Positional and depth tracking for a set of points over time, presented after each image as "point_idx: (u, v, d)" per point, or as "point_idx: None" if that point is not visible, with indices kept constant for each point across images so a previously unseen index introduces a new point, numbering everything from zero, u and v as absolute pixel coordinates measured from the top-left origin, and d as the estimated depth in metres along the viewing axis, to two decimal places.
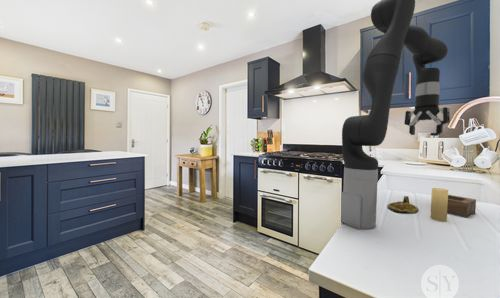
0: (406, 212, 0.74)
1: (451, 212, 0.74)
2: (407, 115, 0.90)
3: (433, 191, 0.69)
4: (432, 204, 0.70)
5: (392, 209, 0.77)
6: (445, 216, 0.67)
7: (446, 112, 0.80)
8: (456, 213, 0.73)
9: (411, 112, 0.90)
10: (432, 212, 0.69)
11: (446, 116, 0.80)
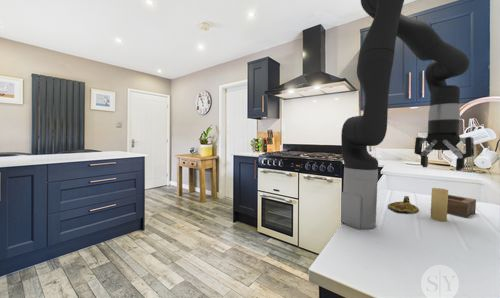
0: (406, 212, 0.74)
1: (451, 212, 0.74)
2: (418, 142, 0.73)
3: (433, 191, 0.69)
4: (432, 204, 0.70)
5: (392, 209, 0.77)
6: (445, 216, 0.67)
7: (470, 143, 0.62)
8: (456, 213, 0.73)
9: (423, 139, 0.72)
10: (432, 212, 0.69)
11: (470, 148, 0.62)
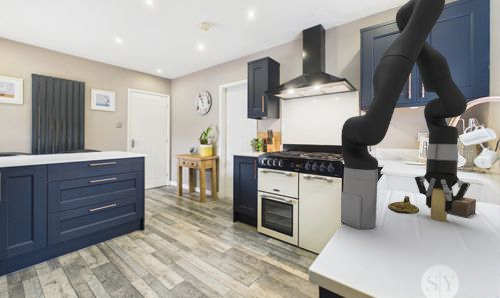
0: (406, 212, 0.74)
1: (451, 212, 0.74)
2: (418, 182, 0.73)
3: (433, 191, 0.69)
4: (432, 204, 0.70)
5: (392, 209, 0.77)
6: (445, 216, 0.67)
7: (464, 189, 0.63)
8: (456, 213, 0.73)
9: (422, 177, 0.73)
10: (432, 212, 0.69)
11: (461, 194, 0.64)
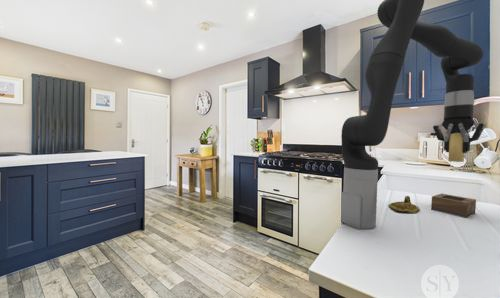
0: (407, 212, 0.74)
1: (451, 212, 0.74)
2: (437, 130, 0.80)
3: (451, 135, 0.76)
4: (450, 148, 0.76)
5: (393, 209, 0.77)
6: (462, 157, 0.74)
7: (480, 129, 0.70)
8: (456, 213, 0.73)
9: (439, 126, 0.80)
10: (450, 155, 0.76)
11: (477, 134, 0.71)
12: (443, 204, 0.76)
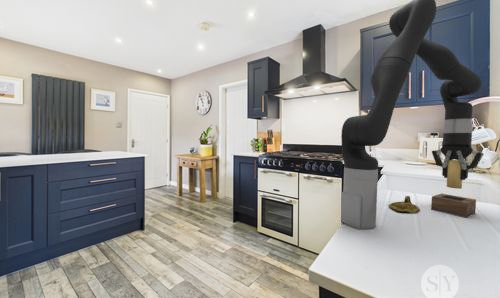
0: (407, 212, 0.74)
1: (451, 212, 0.74)
2: (435, 155, 0.81)
3: (449, 162, 0.77)
4: (448, 174, 0.77)
5: (393, 209, 0.77)
6: (460, 184, 0.75)
7: (478, 158, 0.71)
8: (456, 213, 0.73)
9: (438, 151, 0.81)
10: (448, 181, 0.77)
11: (475, 162, 0.71)
12: (443, 204, 0.76)
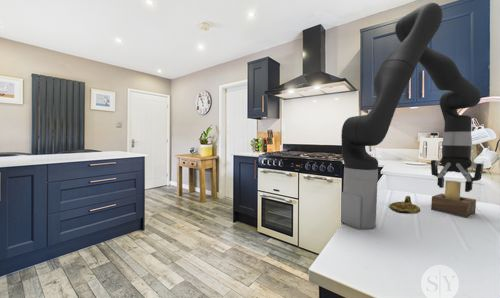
0: (407, 212, 0.74)
1: (451, 212, 0.74)
2: (433, 165, 0.81)
3: (447, 183, 0.78)
4: (446, 195, 0.78)
5: (393, 209, 0.77)
6: None
7: (479, 169, 0.71)
8: (456, 213, 0.73)
9: (437, 161, 0.81)
10: None
11: (478, 174, 0.71)
12: (443, 204, 0.76)
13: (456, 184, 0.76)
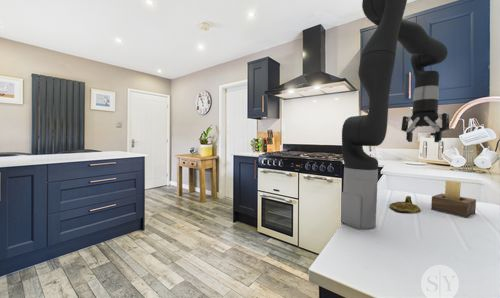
0: (407, 212, 0.75)
1: (451, 212, 0.74)
2: (404, 121, 0.85)
3: (447, 183, 0.78)
4: (446, 195, 0.78)
5: (393, 209, 0.77)
6: None
7: (445, 118, 0.74)
8: (456, 213, 0.73)
9: (408, 118, 0.84)
10: None
11: (445, 123, 0.74)
12: (443, 204, 0.76)
13: (456, 184, 0.76)
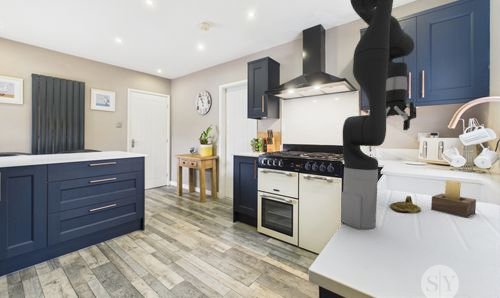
0: (407, 212, 0.75)
1: (451, 212, 0.74)
2: None
3: (447, 183, 0.78)
4: (446, 195, 0.78)
5: (393, 209, 0.77)
6: None
7: (412, 107, 0.79)
8: (456, 213, 0.73)
9: None
10: None
11: (412, 111, 0.79)
12: (443, 204, 0.76)
13: (456, 184, 0.76)
